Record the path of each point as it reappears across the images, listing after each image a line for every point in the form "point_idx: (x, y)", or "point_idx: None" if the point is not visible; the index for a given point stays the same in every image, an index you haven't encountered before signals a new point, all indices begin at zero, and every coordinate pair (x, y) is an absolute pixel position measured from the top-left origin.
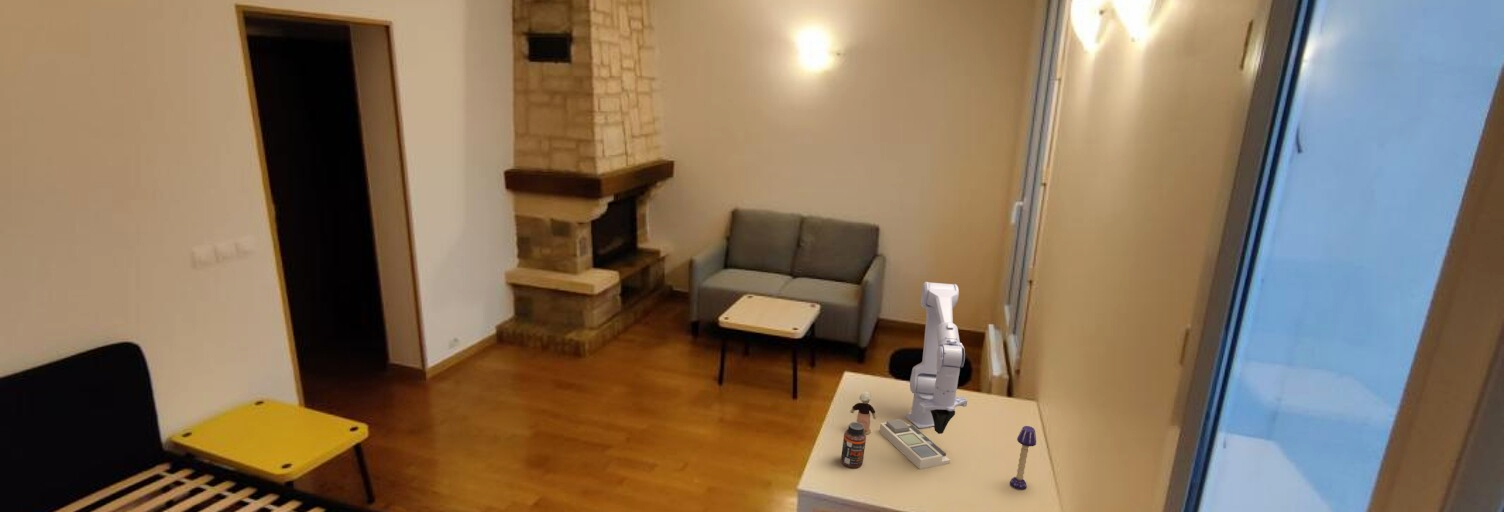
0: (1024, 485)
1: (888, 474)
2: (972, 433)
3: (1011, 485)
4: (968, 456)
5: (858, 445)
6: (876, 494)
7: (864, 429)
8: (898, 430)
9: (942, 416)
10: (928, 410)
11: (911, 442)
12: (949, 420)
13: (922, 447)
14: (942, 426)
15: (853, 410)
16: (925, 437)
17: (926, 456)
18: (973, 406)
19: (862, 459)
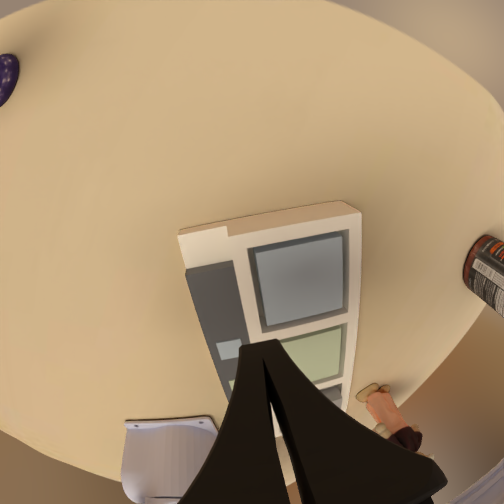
0: None
1: (444, 190)
2: (53, 378)
3: (17, 69)
4: (81, 272)
5: None
6: (492, 114)
7: (381, 394)
8: (327, 396)
9: (413, 479)
10: (492, 473)
11: (317, 343)
12: (216, 450)
13: (293, 311)
14: (283, 387)
15: (418, 430)
16: (225, 378)
17: (316, 241)
18: (53, 440)
19: (488, 251)
